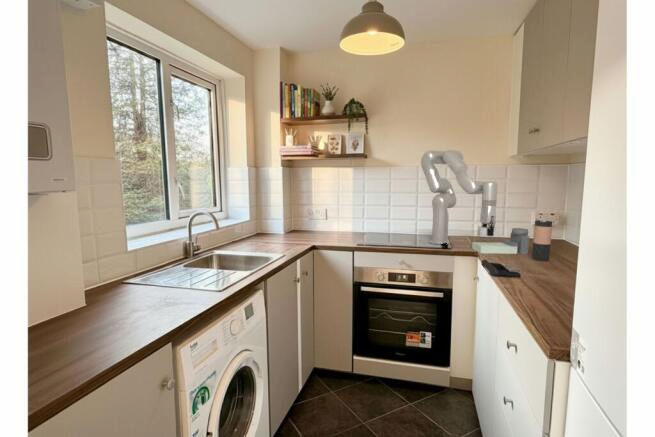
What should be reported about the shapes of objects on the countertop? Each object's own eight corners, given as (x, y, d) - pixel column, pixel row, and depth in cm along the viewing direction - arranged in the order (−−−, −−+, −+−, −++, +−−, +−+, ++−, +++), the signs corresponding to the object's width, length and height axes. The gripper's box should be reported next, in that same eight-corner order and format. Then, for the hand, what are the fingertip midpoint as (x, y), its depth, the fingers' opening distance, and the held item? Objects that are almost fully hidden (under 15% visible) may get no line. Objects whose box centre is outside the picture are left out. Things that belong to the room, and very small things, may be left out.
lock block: (477, 234, 195) (478, 226, 194) (494, 235, 193) (494, 226, 192) (480, 236, 189) (480, 227, 188) (497, 237, 187) (497, 228, 187)
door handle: (515, 262, 158) (478, 258, 161) (532, 274, 138) (490, 269, 141) (514, 269, 158) (478, 265, 161) (530, 282, 139) (489, 277, 142)
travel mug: (540, 261, 168) (544, 222, 166) (528, 258, 176) (531, 220, 173) (552, 260, 170) (556, 221, 168) (539, 257, 178) (542, 220, 175)
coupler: (472, 248, 198) (473, 227, 197) (519, 249, 198) (521, 227, 196) (480, 253, 186) (482, 230, 185) (531, 253, 186) (533, 230, 184)
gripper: (475, 202, 198) (474, 232, 200) (489, 204, 180) (487, 237, 182) (488, 202, 197) (487, 232, 199) (503, 204, 180) (501, 237, 182)
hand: (487, 234), depth 191 cm, fingers closed on lock block, 6 cm apart
